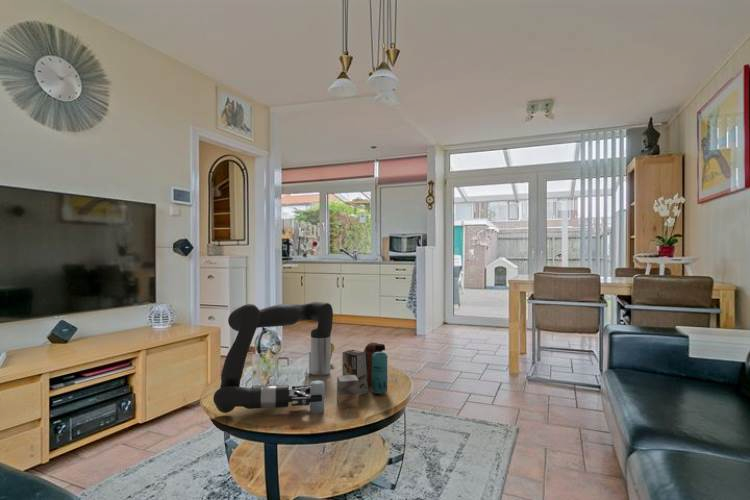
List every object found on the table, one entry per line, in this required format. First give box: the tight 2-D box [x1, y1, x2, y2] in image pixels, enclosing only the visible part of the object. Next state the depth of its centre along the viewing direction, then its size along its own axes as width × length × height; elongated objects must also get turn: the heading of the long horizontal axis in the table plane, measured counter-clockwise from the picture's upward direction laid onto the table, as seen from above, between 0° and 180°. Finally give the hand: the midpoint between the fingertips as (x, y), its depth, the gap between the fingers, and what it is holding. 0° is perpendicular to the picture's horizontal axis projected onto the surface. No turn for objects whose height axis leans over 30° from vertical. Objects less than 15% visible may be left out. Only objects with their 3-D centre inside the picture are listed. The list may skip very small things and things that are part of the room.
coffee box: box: [341, 349, 369, 397], centre depth 168 cm, size 9×6×16 cm
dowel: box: [309, 380, 325, 415], centre depth 148 cm, size 5×5×10 cm
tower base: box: [336, 389, 359, 409], centre depth 154 cm, size 7×7×5 cm
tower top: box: [336, 375, 359, 395], centre depth 154 cm, size 7×7×5 cm
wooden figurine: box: [362, 342, 383, 387], centre depth 178 cm, size 12×6×18 cm, turn 41°
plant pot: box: [330, 342, 335, 362], centre depth 212 cm, size 10×10×10 cm
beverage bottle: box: [370, 343, 389, 394], centre depth 165 cm, size 6×7×20 cm
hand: (321, 393), depth 148 cm, fingers open, 8 cm apart
